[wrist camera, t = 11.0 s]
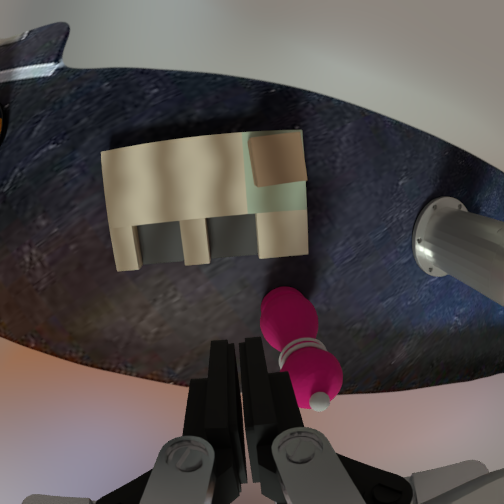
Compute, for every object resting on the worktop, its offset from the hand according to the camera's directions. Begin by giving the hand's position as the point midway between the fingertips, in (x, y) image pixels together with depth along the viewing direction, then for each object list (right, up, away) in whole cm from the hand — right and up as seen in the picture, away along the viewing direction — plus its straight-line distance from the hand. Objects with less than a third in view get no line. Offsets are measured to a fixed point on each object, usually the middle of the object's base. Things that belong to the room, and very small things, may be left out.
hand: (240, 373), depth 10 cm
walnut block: (+3, +15, +24) cm, 28 cm away
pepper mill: (+5, -3, +32) cm, 32 cm away
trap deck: (-5, +11, +27) cm, 29 cm away
